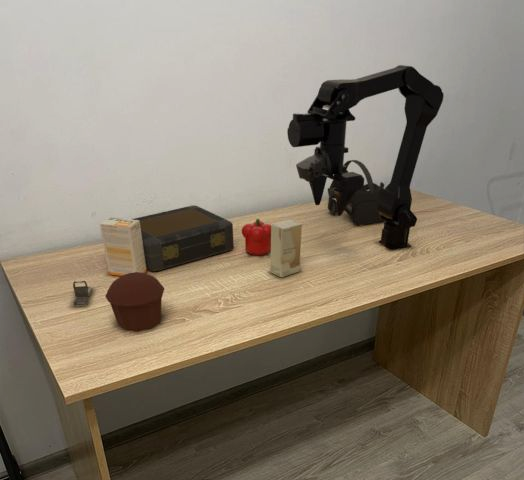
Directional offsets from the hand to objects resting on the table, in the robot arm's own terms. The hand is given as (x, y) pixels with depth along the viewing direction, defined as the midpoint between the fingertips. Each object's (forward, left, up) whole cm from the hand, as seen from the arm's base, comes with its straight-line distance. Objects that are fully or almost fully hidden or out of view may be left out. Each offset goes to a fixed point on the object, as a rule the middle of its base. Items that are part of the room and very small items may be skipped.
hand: (328, 210), depth 130 cm
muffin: (+50, +14, -13) cm, 54 cm away
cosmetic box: (+12, +3, -13) cm, 18 cm away
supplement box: (+48, -11, -13) cm, 51 cm away
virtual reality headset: (-26, -29, -13) cm, 41 cm away
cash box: (+34, -21, -13) cm, 42 cm away
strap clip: (+60, -1, -13) cm, 61 cm away
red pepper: (+14, -11, -13) cm, 22 cm away
